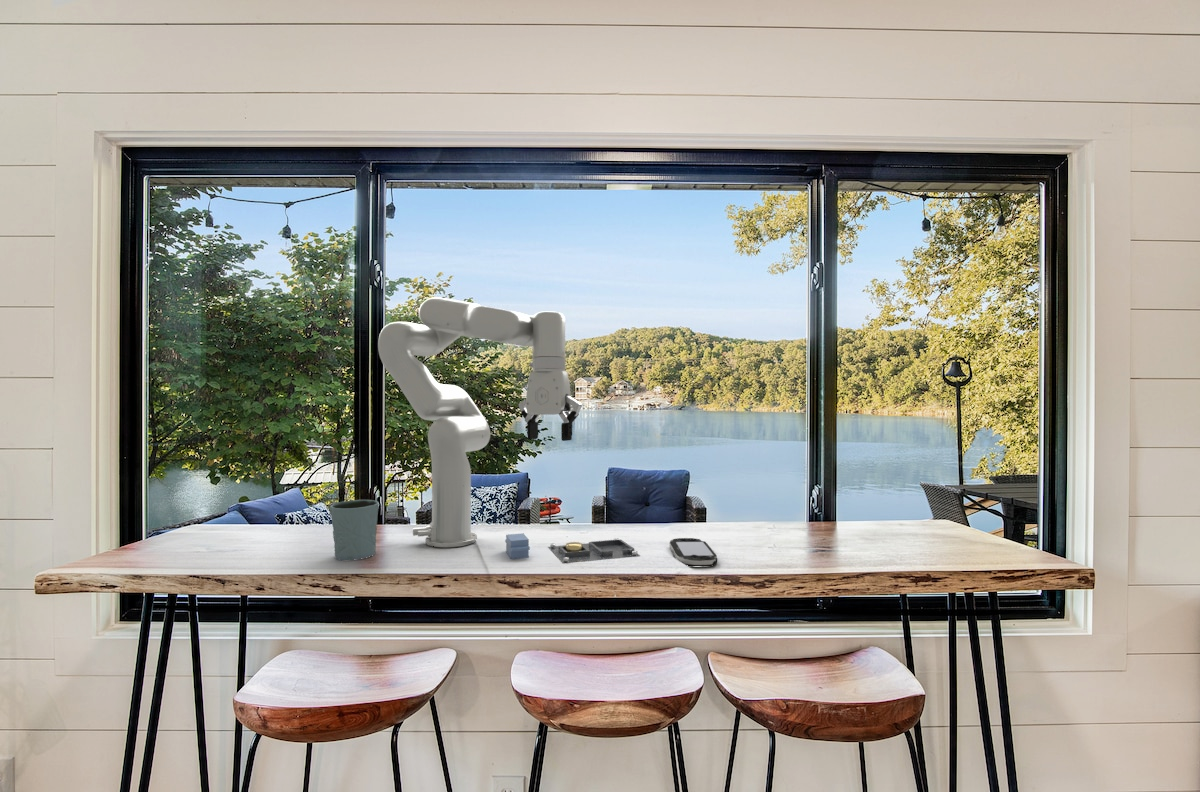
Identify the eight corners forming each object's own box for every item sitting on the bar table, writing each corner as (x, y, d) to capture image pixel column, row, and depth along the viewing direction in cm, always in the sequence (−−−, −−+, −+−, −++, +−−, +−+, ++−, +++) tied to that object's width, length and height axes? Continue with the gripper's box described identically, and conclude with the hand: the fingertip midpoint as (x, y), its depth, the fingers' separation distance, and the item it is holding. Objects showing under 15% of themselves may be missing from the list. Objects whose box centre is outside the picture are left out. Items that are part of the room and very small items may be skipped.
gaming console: (667, 546, 141) (667, 536, 141) (703, 546, 141) (703, 536, 141) (679, 570, 121) (679, 558, 121) (721, 569, 121) (721, 557, 121)
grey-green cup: (386, 550, 134) (386, 500, 134) (364, 562, 124) (364, 508, 124) (345, 549, 135) (345, 499, 135) (320, 561, 125) (321, 507, 125)
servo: (511, 565, 123) (511, 542, 123) (505, 554, 131) (505, 533, 131) (529, 563, 125) (529, 540, 125) (522, 553, 133) (522, 532, 133)
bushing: (568, 555, 127) (568, 546, 127) (564, 551, 130) (564, 542, 130) (583, 554, 128) (583, 545, 128) (579, 550, 131) (579, 541, 131)
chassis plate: (562, 567, 121) (562, 558, 121) (547, 551, 134) (547, 542, 134) (640, 560, 127) (640, 551, 127) (618, 544, 140) (618, 536, 140)
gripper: (509, 366, 132) (509, 439, 132) (570, 363, 123) (571, 442, 123) (529, 367, 139) (530, 437, 139) (589, 365, 130) (589, 439, 130)
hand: (549, 439), depth 131 cm, fingers open, 9 cm apart
